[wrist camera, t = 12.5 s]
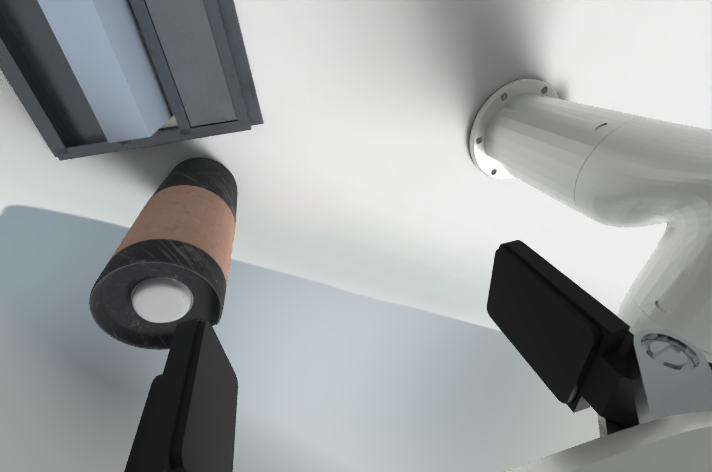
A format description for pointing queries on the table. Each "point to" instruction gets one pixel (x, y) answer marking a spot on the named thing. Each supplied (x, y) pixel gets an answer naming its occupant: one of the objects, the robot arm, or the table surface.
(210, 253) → the travel mug
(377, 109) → the table surface
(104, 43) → the panel
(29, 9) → the rack
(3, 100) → the table surface
